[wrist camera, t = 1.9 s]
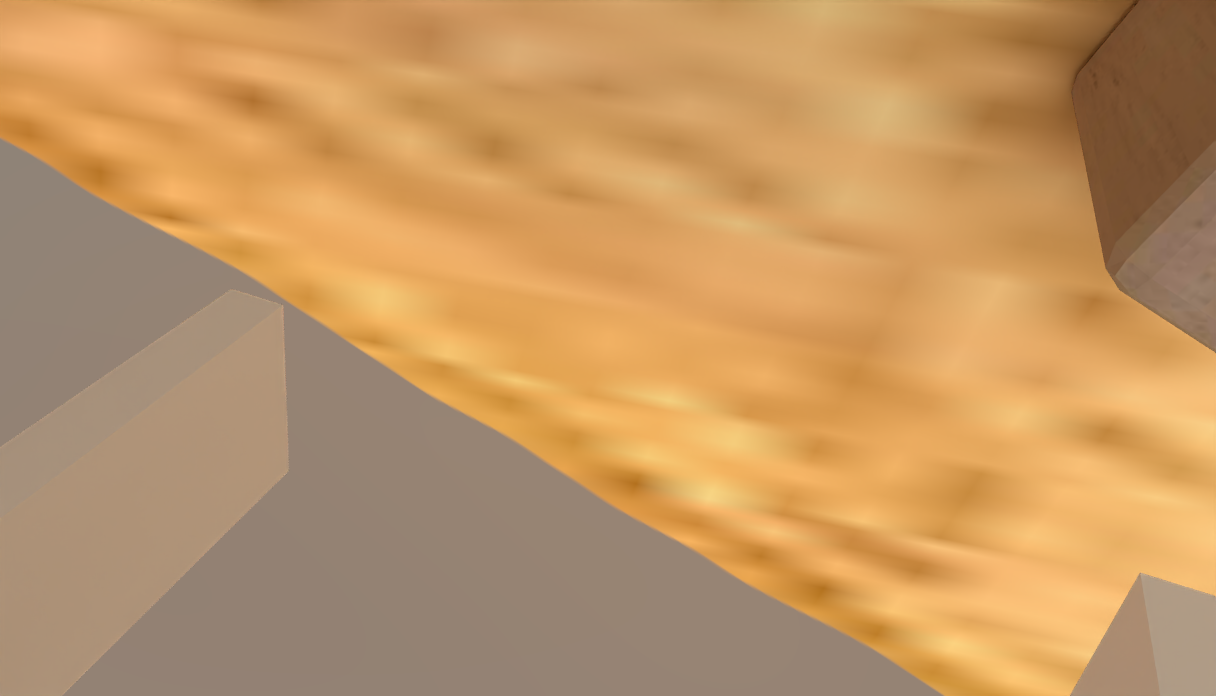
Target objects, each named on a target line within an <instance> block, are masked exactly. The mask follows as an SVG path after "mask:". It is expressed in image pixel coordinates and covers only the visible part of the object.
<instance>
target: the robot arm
mask: <svg viewBox="0 0 1216 696" xmlns="http://www.w3.org/2000/svg"><path fill="white" fill-rule="evenodd" d="M285 374H286V373H285V346H284V318H283V305H282V304H279V303H275V302H272V301H269V300H266V299H263V298H259V297H256V296H253V295H250V294H246V293H243V292H240V291H237V290H234V289H231V290H229V291H228V292H226V293H225V294H223V295H222V296H221V297H219V298H217V299H216V300H215V301H213V302H212V303H210V304H209V305H207V306H206V307H204V308H203V309H201V310H200V311H198V312H197V313H196V314H194V315H193V316H191V317H190V318H188V319H187V320H185V321H184V322H182V323H181V324H180V325H178V326H177V327H175V328H174V329H172V330H171V331H169V332H168V333H167V334H165V335H163V336H162V337H160V338H159V339H158V340H156V341H155V342H153V343H152V344H150V345H149V346H147V347H146V348H144V349H143V350H142V351H140V352H138V353H137V354H136V355H134V356H133V357H131V358H130V359H128V360H127V361H125V362H124V363H122V364H121V365H120V366H118V367H117V368H115V369H114V370H112V371H111V372H109V373H108V374H106V375H105V376H103V377H102V378H100V379H99V380H98V381H96V382H95V383H93V384H92V385H90V386H89V387H87V388H86V389H84V390H83V391H82V392H80V393H79V394H77V395H76V396H74V397H73V398H71V399H70V400H68V401H67V402H66V403H64V404H62V405H61V406H60V407H58V408H57V409H55V410H54V411H52V412H51V413H49V414H48V415H46V416H45V417H43V418H42V419H41V420H39V421H38V422H36V423H35V424H33V425H32V426H30V427H29V428H27V429H26V430H24V431H23V432H22V433H20V434H19V435H17V436H16V437H14V438H13V439H11V440H10V441H8V442H7V443H5V444H4V445H3V446H1V447H0V696H62V695H63V694H64V693H65V692H66V691H67V690H68V689H69V688H70V687H71V686H72V685H73V684H74V683H75V682H76V681H77V680H78V679H79V678H80V677H81V676H82V675H83V674H84V673H85V672H86V671H87V670H88V669H89V668H90V667H91V666H92V665H93V664H94V663H95V662H96V661H97V660H98V659H99V658H100V657H101V656H102V655H103V654H104V653H105V652H106V651H107V650H108V649H109V648H110V647H112V646H113V645H114V643H116V642H117V640H119V639H120V637H122V635H124V634H125V632H127V631H128V630H129V629H130V628H131V627H132V626H133V625H134V624H135V623H136V622H137V621H138V620H139V619H140V618H141V617H142V616H143V615H144V614H145V613H146V612H147V611H148V610H149V609H150V608H151V607H152V606H153V605H154V604H155V603H156V602H157V601H158V600H159V599H160V598H161V597H162V596H163V595H164V594H165V593H166V592H167V591H168V590H169V589H170V588H171V587H172V586H173V585H174V584H175V583H176V582H177V581H178V580H179V579H180V578H181V577H182V576H183V575H184V574H185V573H186V572H187V571H188V570H189V569H190V568H191V567H192V566H193V565H194V564H195V563H196V562H197V561H198V560H199V559H200V558H201V557H202V556H203V555H204V554H205V553H206V552H207V551H208V550H209V549H210V548H211V547H212V546H213V545H214V544H215V543H216V542H217V541H218V540H219V539H220V538H221V537H222V536H223V535H224V534H225V533H226V532H227V531H228V530H229V529H230V528H231V527H232V526H233V525H234V524H236V523H237V522H238V520H240V519H241V518H242V517H243V515H245V514H246V513H247V512H248V511H249V510H250V508H252V507H253V506H254V505H255V504H256V503H257V501H259V500H260V498H262V497H263V496H264V495H265V494H266V493H267V492H268V491H269V490H270V489H271V488H272V487H273V486H274V485H275V484H276V483H277V482H278V481H279V480H280V479H281V478H282V477H283V476H284V475H285V474H286V473H287V472H288V471H289V457H288V429H287V401H286V375H285ZM1070 696H1216V598H1215V596H1213V595H1210V594H1207V593H1204V592H1200V591H1197V590H1194V589H1191V588H1188V587H1184V586H1181V585H1178V584H1175V583H1172V582H1168V581H1165V580H1162V579H1159V578H1156V577H1152V576H1149V575H1146V574H1143V573H1140V574H1139V576H1138V577H1137V579H1136V581H1135V583H1134V584H1133V586H1132V588H1131V590H1130V591H1129V593H1128V595H1127V597H1126V598H1125V600H1124V602H1123V604H1122V605H1121V607H1120V609H1119V611H1118V612H1117V614H1116V616H1115V618H1114V619H1113V621H1112V623H1111V625H1110V626H1109V628H1108V630H1107V632H1106V633H1105V635H1104V637H1103V639H1102V640H1101V642H1100V644H1099V646H1098V647H1097V649H1096V651H1095V653H1094V654H1093V656H1092V658H1091V660H1090V661H1089V663H1088V665H1087V667H1086V668H1085V670H1084V672H1083V674H1082V675H1081V677H1080V679H1079V681H1078V682H1077V684H1076V686H1075V688H1074V689H1073V691H1072V693H1071V695H1070Z"/></svg>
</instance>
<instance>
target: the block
mask: <svg viewBox="0 0 1216 696" xmlns="http://www.w3.org/2000/svg"><path fill="white" fill-rule="evenodd" d="M1071 93H1072V99H1073V104H1074V109H1075V114H1076V119H1077V124H1078V129H1079V134H1080V140H1081V145H1082V150H1083V155H1084V160H1085V165H1086V170H1087V175H1088V180H1089V186H1090V191H1091V196H1092V201H1093V206H1094V211H1095V216H1096V221H1097V226H1098V232H1099V237H1100V242H1101V247H1102V252H1103V257H1104V262H1105V267H1106V269H1107V271H1108V273H1109V274H1110V276H1111V277H1112V279H1113V280H1114V282H1115V284H1116V285H1117V287H1118V288H1119V290H1120V291H1122V292H1123V293H1125V294H1126V295H1128V296H1129V297H1131V298H1133V299H1134V300H1136V301H1137V302H1139V303H1140V304H1142V305H1143V306H1145V307H1146V308H1148V309H1149V310H1151V311H1153V312H1154V313H1156V314H1157V315H1159V316H1160V317H1162V318H1163V319H1165V320H1166V321H1168V322H1169V323H1171V324H1172V325H1174V326H1176V327H1177V328H1179V329H1180V330H1182V331H1183V332H1185V333H1186V334H1188V335H1189V336H1191V337H1192V338H1194V339H1196V340H1197V341H1199V342H1200V343H1202V344H1203V345H1205V346H1206V347H1208V348H1209V349H1211V350H1212V351H1214V352H1215V353H1216V0H1139V2H1138V3H1137V4H1136V5H1135V6H1134V8H1133V9H1132V10H1131V11H1130V12H1129V13H1128V15H1127V16H1126V17H1125V18H1124V19H1123V21H1122V22H1121V23H1120V24H1119V25H1118V27H1117V28H1116V29H1115V30H1114V31H1113V33H1112V34H1111V35H1110V36H1109V37H1108V39H1107V40H1106V41H1105V42H1104V43H1103V45H1102V46H1101V47H1100V48H1099V49H1098V50H1097V52H1096V53H1095V54H1094V55H1093V56H1092V58H1091V59H1090V60H1089V61H1088V62H1087V64H1086V65H1085V66H1084V67H1083V68H1082V70H1081V71H1080V72H1079V73H1078V74H1077V77H1076V80H1075V83H1074V86H1073V89H1072V92H1071Z"/></svg>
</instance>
